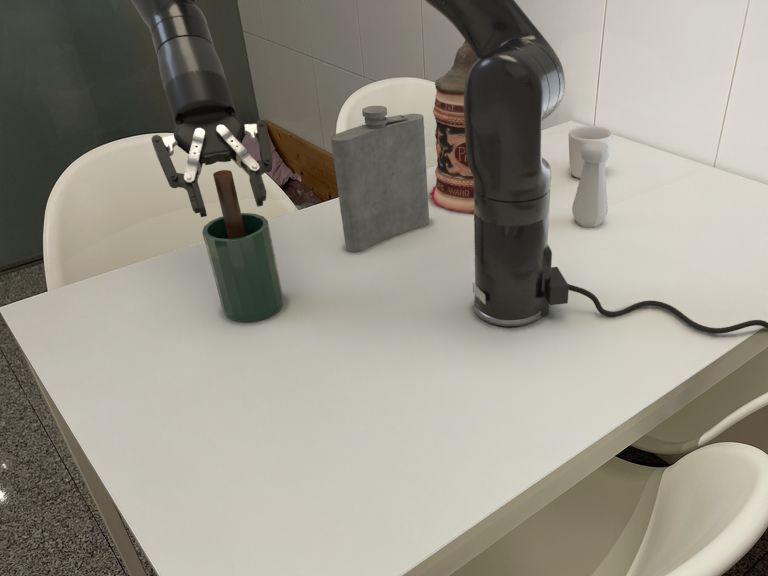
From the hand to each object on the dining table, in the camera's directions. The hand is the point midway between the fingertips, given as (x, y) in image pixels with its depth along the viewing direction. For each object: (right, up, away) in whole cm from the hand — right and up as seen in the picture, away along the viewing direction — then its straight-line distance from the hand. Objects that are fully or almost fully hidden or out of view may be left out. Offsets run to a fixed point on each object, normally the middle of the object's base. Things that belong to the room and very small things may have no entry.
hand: (232, 208), depth 85 cm
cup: (+51, +15, +45) cm, 70 cm away
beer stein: (+30, +11, +40) cm, 51 cm away
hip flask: (+16, +1, +27) cm, 32 cm away
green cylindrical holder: (0, -11, +10) cm, 15 cm away
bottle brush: (-1, -11, +10) cm, 14 cm away
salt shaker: (+49, +4, +30) cm, 57 cm away
